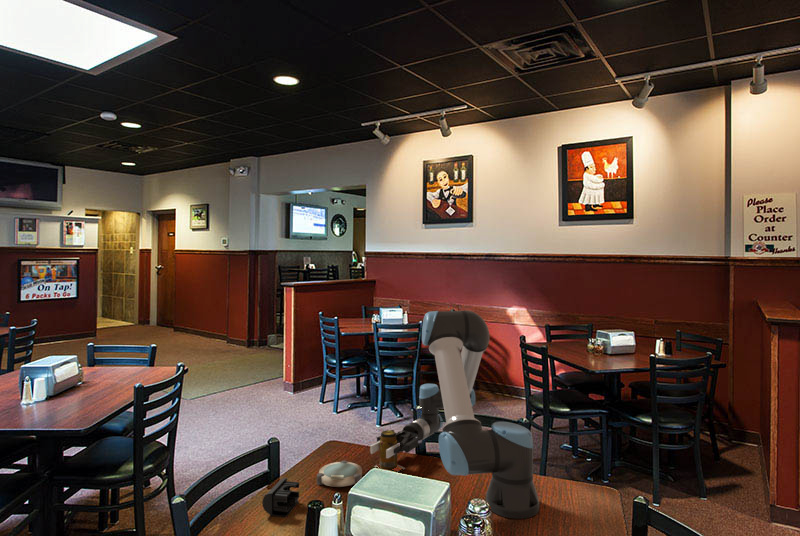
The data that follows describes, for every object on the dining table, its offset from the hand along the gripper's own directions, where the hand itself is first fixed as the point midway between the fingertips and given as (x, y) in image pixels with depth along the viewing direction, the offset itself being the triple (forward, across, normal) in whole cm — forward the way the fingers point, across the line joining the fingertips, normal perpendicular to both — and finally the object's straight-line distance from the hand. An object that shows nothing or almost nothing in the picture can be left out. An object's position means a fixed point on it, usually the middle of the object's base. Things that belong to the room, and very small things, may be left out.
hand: (379, 451), depth 158 cm
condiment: (-5, -1, -7) cm, 9 cm away
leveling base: (+10, +8, -7) cm, 15 cm away
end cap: (+34, +10, -8) cm, 36 cm away
